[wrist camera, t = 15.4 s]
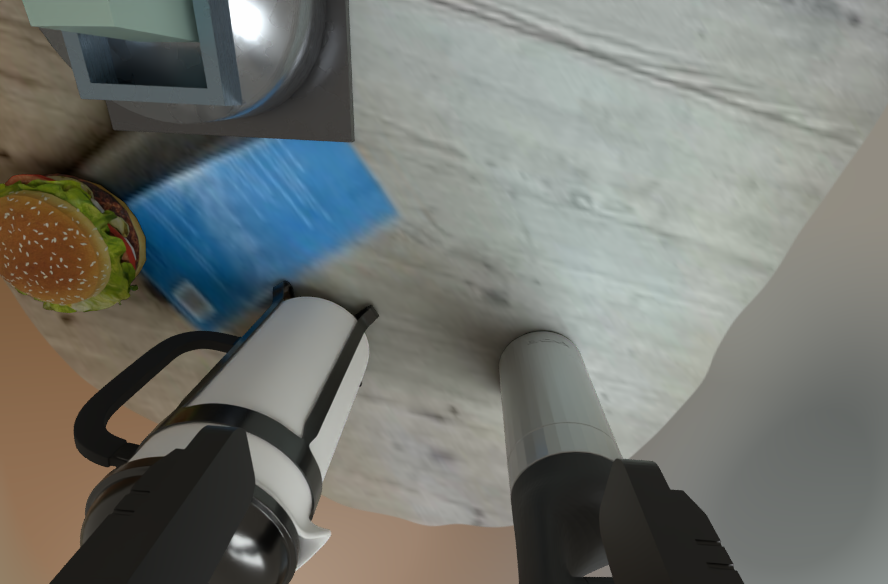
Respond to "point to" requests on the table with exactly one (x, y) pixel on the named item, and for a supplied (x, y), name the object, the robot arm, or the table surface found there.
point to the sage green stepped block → (118, 18)
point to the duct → (227, 72)
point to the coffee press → (248, 425)
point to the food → (68, 242)
